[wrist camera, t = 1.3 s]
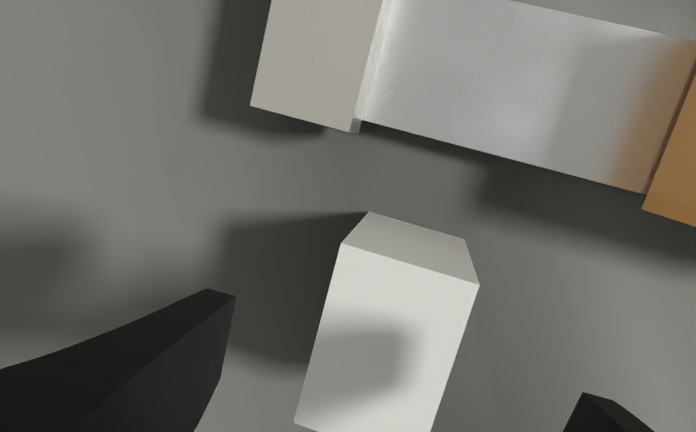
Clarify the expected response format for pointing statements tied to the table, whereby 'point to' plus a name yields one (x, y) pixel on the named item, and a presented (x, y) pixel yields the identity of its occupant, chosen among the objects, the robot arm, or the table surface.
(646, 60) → the mounting rail
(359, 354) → the block
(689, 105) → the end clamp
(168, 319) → the robot arm
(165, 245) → the table surface
